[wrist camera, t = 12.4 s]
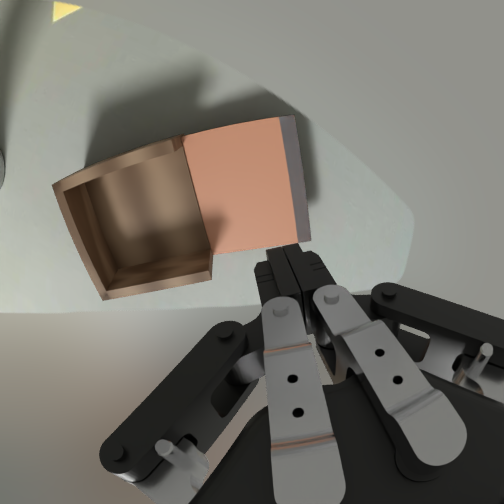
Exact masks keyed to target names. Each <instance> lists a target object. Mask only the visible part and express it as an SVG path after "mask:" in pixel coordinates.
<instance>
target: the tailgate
mask: <svg viewBox="0 0 504 504" xmlns="http://www.w3.org/2000/svg"><path fill="white" fill-rule="evenodd" d="M181 139H182V143H183V147H184V151H185V155H186V159H187V163H188V167H189V171H190V175H191V178H192V182H193V186H194V190H195V193H196V197H197V201H198V204H199V208H200V212H201V215H202V219H203V222H204V226H205V230H206V233H207V237H208V240H209V243H210V247H211V250H212V254H213V255H215V254H222V253H229V252H236V251H243V250H250V249H257V248H264V247H271V246H278V245H285V244H292V243H299V242H306V241H311V232H310V223H309V214H308V205H307V197H306V189H305V181H304V174H303V167H302V160H301V153H300V146H299V140H298V134H297V128H296V122H295V116H294V115H286V116H279V117H272V118H265V119H259V120H254V121H248V122H243V123H237V124H232V125H228V126H223V127H218V128H214V129H209V130H205V131H201V132H197V133H193V134H189V135H185V136H182V137H181Z"/></svg>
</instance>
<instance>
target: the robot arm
mask: <svg viewBox="0 0 504 504" xmlns="http://www.w3.org/2000/svg"><path fill="white" fill-rule="evenodd" d="M4 171H5V168H4V159H3V155H2V152H1V150H0V188H1V186H2V184H3V180H4ZM266 255H267V261H263V262H258V263H257V264H256V266H255V269H254V273H255V277H256V282H257V286H258V291H259V295H260V300H261V304H262V310H261V313H260V314H259V316H258V317H257V318H256V319H254V320H253V321H251V322H250V323H248V324H245V325H244V326H243V325H242V324H240V323H238V322H235V321H225V322H221V323H218V324H217V325H215V326H213V327H212V328H211V329H210V330H209V331H208V332H207V334H206V335H205V336H204V337H203V338H202V339H201V340H200V341H199V342H198V343H197V344H196V345H195V347H194V348H193V349H192V350H191V351H190V352H189V353H188V354H187V355H186V356H185V357H184V358H183V360H182V361H181V362H180V363H179V364H178V365H177V366H176V367H175V368H174V369H173V370H172V371H171V372H170V373H169V375H168V376H167V377H166V378H165V379H164V380H163V381H162V382H161V383H160V384H159V385H158V386H157V387H156V388H155V389H154V390H153V391H152V393H151V394H150V395H149V396H148V397H147V398H146V399H145V400H144V401H143V402H142V403H141V404H140V405H139V406H138V407H137V408H136V409H135V410H134V411H133V412H132V413H131V415H130V416H129V417H128V418H127V419H126V420H125V421H124V422H123V423H122V424H121V425H120V426H119V427H118V428H117V429H116V430H115V431H114V432H113V433H112V434H111V435H110V436H109V437H108V438H107V439H106V440H105V441H104V443H103V444H102V446H101V448H100V453H99V456H100V461H101V464H102V465H103V467H104V468H105V469H106V470H107V471H109V472H111V473H113V474H115V475H116V476H118V477H120V478H121V479H122V480H124V481H126V482H128V483H130V484H133V485H135V486H136V487H137V488H138V489H140V490H141V491H142V492H143V493H144V494H145V495H147V496H148V497H149V498H150V499H151V500H152V501H154V502H155V503H156V504H504V320H503V319H500V318H497V317H494V316H491V315H488V314H485V313H482V312H480V311H477V310H473V309H471V308H467V307H465V306H462V305H459V304H456V303H453V302H450V301H447V300H444V299H441V298H438V297H435V296H432V295H429V294H426V293H423V292H419V291H417V290H413V289H410V288H407V287H404V286H401V285H398V284H395V283H389V282H386V283H381V284H378V285H376V286H375V287H374V288H373V289H372V292H371V295H352V294H350V293H349V291H348V290H347V289H346V288H344V287H342V286H339V285H337V284H336V282H335V281H334V279H333V277H332V276H331V274H330V273H329V271H328V269H327V268H326V266H325V265H324V263H323V261H322V260H321V258H320V257H319V255H317V254H316V253H314V252H312V251H307V252H303V251H302V250H301V248H300V246H299V244H298V243H295V244H290V245H286V246H282V247H277V248H272V249H268V250H266ZM400 324H404V325H407V326H409V327H412V328H415V329H417V330H420V331H423V332H425V333H427V334H428V335H429V336H430V339H426V338H423V337H421V336H418V335H415V334H413V333H410V332H407V331H405V330H402V329H400ZM309 334H314V336H315V342H316V349H317V351H318V353H319V355H320V357H321V359H322V361H323V364H324V366H325V368H326V370H327V372H328V374H329V376H330V378H331V380H332V382H333V385H322V383H321V379H320V376H319V372H318V368H317V363H316V359H315V355H314V351H313V348H312V344H311V343H310V342H309V341H308V337H307V335H309ZM264 375H266V376H265V377H266V388H267V399H268V405H267V406H266V407H264V408H263V409H262V410H260V411H258V412H257V413H256V414H255V415H254V416H253V417H252V418H251V419H250V420H249V421H248V422H247V424H246V425H245V427H244V428H243V430H242V431H241V433H240V434H239V436H238V437H237V439H236V440H235V442H234V443H233V445H232V446H231V447H230V449H229V450H228V452H227V453H226V455H225V456H224V457H223V459H222V460H221V462H220V463H219V464H218V466H217V467H216V468H215V470H214V471H213V473H212V474H211V475H210V476H209V478H208V479H207V480H206V482H205V483H204V484H203V480H204V477H205V476H206V474H207V472H208V469H209V462H208V459H207V457H206V456H205V455H204V454H205V453H206V452H207V451H208V449H209V448H210V447H211V446H212V444H213V443H214V442H215V441H216V439H217V438H218V436H219V435H220V434H221V433H222V432H223V430H224V429H225V428H226V426H227V425H228V424H229V422H230V421H231V420H232V418H233V417H234V416H235V414H236V413H237V412H238V410H239V409H240V407H241V406H242V405H243V403H244V402H245V401H246V399H247V398H248V396H249V395H250V394H251V392H252V391H253V389H254V388H255V387H256V385H257V383H258V381H259V378H260V377H262V376H264ZM202 484H203V486H202Z"/></svg>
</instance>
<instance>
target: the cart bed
mask: <svg viewBox="0 0 504 504" xmlns="http://www.w3.org/2000/svg"><path fill="white" fill-rule="evenodd" d="M182 136H185V135H184V134H181V135H177V136H174V137H170V138H167V139H163V140H160V141H157V142H154V143H150V144H147V145H144V146H141V147H138V148H135V149H132V150H129V151H127V152H124V153H121V154H118V155H115V156H113V157H110V158H108V159H105V160H102V161H100V162H97V163H95V164H92V165H90V166H88V167H85V168H83V169H81V170H79V171H77V172H75V173H73V174H71V175H69V176H67V177H65V178H63V179H61V180H60V181H58V182H56V183H54V184H52V187H53V190H54V193H55V196H56V199H57V202H58V204H59V207H60V210H61V212H62V215H63V217H64V220H65V223H66V225H67V227H68V230H69V232H70V235H71V237H72V239H73V242H74V244H75V246H76V248H77V251H78V253H79V255H80V257H81V259H82V261H83V263H84V265H85V268H86V270H87V272H88V274H89V276H90V278H91V280H92V281H93V283H94V285H95V287H96V289H97V291H98V293H99V295H100V296H101V298H102V300H103V301H104V300H109V299H115V298H120V297H126V296H131V295H137V294H142V293H147V292H153V291H158V290H163V289H168V288H173V287H178V286H184V285H189V284H194V283H199V282H204V281H209V280H212V264H213V254H212V250H211V247H210V243H209V240H208V237H207V233H206V230H205V226H204V222H203V219H202V215H201V212H200V208H199V204H198V201H197V197H196V193H195V190H194V186H193V182H192V178H191V175H190V171H189V167H188V163H187V159H186V155H185V151H184V147H183V143H182V139H181V137H182Z"/></svg>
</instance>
